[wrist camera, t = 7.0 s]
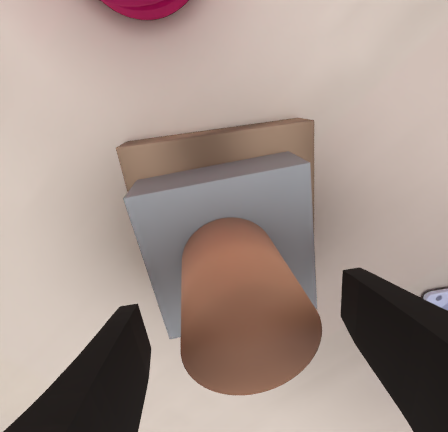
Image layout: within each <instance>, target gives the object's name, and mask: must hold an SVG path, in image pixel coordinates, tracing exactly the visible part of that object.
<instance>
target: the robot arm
mask: <svg viewBox="0 0 448 432" xmlns="http://www.w3.org/2000/svg"><path fill="white" fill-rule="evenodd" d="M341 318H342V320H343V322H344V324H345V326H346V328H347V330H348V332H349V333H350V335H351V337H352V339H353V341H354V343H355V344H356V346H357V347H358V349H359V350H360V352H361V353H362V355H363V356H364V358H365V359H366V361H367V362H368V364H369V365H370V367H371V368H372V370H373V371H374V373H375V374H376V375H377V377H378V378H379V380H380V381H381V383H382V384H383V386H384V387H385V389H386V390H387V391H388V393H389V394H390V396H391V397H392V399H393V400H394V402H395V403H396V405H397V406H398V408H399V409H400V411H401V412H402V414H403V415H404V417H405V418H406V420H407V422H408V423H409V425H410V426H411V428H412V430H413V432H448V288H447V289H441V290H435V291H430V292H427V293H426V294H425V295H424V297H423V299H422V298H420V297H418V296H416V295H414V294H412V293H410V292H408V291H406V290H404V289H402V288H400V287H398V286H396V285H394V284H392V283H390V282H388V281H386V280H384V279H382V278H380V277H379V276H377V275H375V274H372V273H370V272H368V271H366V270H364V269H362V268H354V269H348V270H343V277H342V299H341ZM150 358H151V346H150V342H149V339H148V336H147V333H146V329H145V326H144V323H143V319H142V316H141V313H140V309H139V306H138V304H133V305H127V306H121V307H119V308H118V309H117V311H116V312H115V313H114V314H113V315H112V316H111V318H110V319H109V320H108V321H107V322H106V324H105V325H104V326H103V327H102V328H101V330H100V331H99V332H98V333H97V334H96V336H95V337H94V338H93V339H92V340H91V341H90V343H89V344H88V345H87V346H86V347H85V348H84V350H83V351H82V352H81V353H80V354H79V355H78V357H77V358H76V359H75V360H74V361H73V362H72V363H71V364H70V365H69V366H68V367H67V369H66V370H65V371H64V372H63V373H62V374H61V375H60V376H59V377H58V378H57V379H56V380H55V382H54V383H53V384H52V385H51V386H50V387H49V388H48V389H47V390H46V391H45V392H44V393H43V394H42V395H41V396H40V397H39V398H38V399H37V400H36V401H35V402H34V403H33V404H32V405H31V406H30V407H29V408H28V409H27V410H26V411H25V412H24V413H23V414H22V415H21V416H20V417H19V418H17V419H16V420H15V421H14V422H13V423H12V424H11V425H10V426H9V427H8V428H7V429H6V430H5V431H4V432H138V429H139V424H140V419H141V414H142V409H143V405H144V400H145V395H146V390H147V384H148V379H149V369H150Z"/></svg>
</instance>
